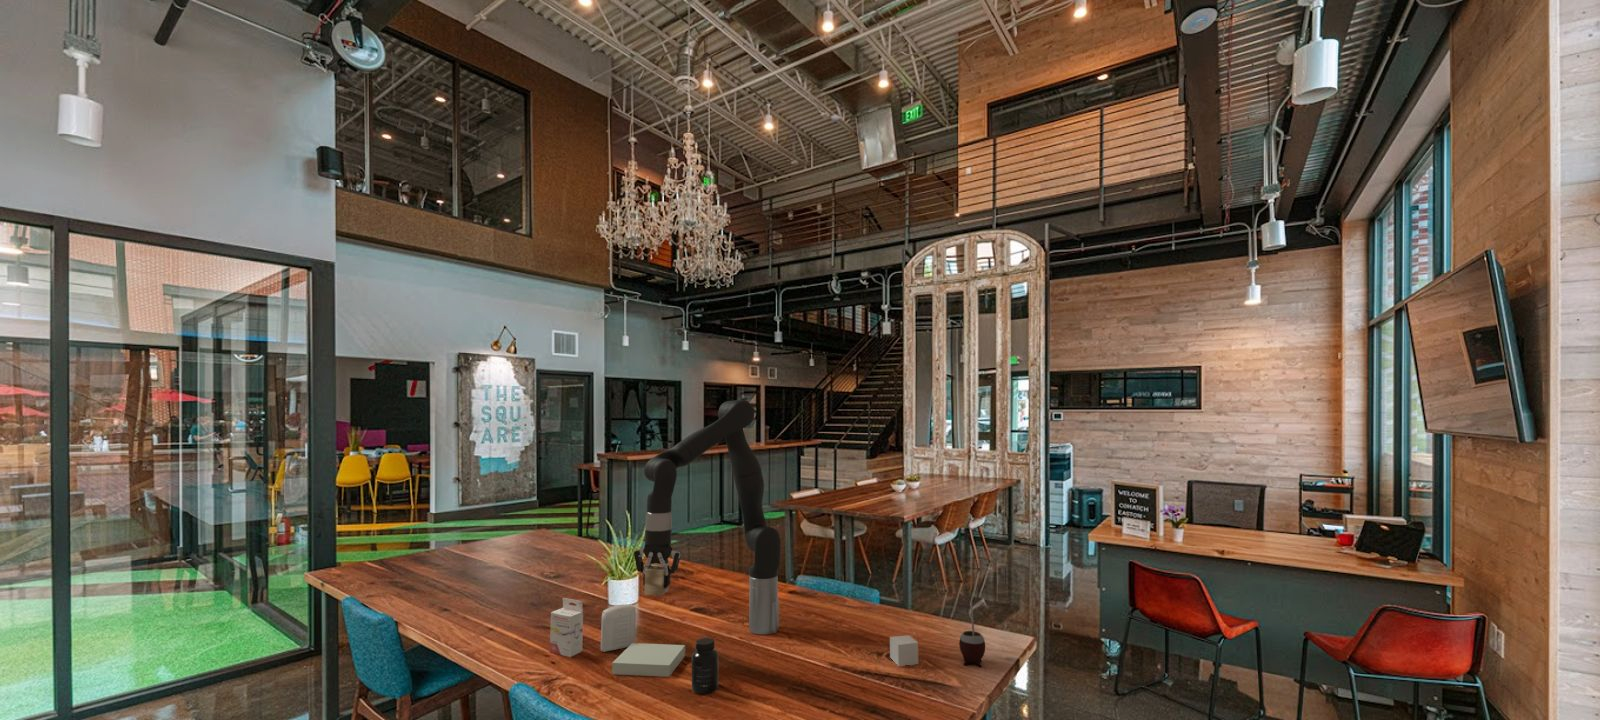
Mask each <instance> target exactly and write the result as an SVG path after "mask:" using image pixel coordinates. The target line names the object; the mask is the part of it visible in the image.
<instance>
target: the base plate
mask: <svg viewBox="0 0 1600 720" xmlns="http://www.w3.org/2000/svg"><path fill="white" fill-rule="evenodd" d="M685 656H686V645H685V644H665V643H663V644H662V643H661V644H660V643H643V642H641V643H638V642H635V643H632V644H631V645H630V646H629V647H626V649H624V651H623V652H621V653H620V655H619V656H618V657H616V659H614V661H612V662H611V663H612V665H611V668H612V670H611V672H612V673H611V674H612V675H619V676H620V675H623V676H642V677H643V676H645V677H663V678H664V677H666V678H670V676H671V675H672V674H673V672H675V670H676V668H677V667H678V666H679V664H680V663H681V662H682V661H683V659H684V658H685Z"/></svg>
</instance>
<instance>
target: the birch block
mask: <svg viewBox="0 0 1600 720" xmlns="http://www.w3.org/2000/svg"><path fill="white" fill-rule="evenodd" d="M664 575H665V574H664V569H663V568H662V567H661V564H653V565H652V566H651V567H649V568H647V569H645V585H644V590H643V591H644V593H643V595H644V596H646V595H647V596H663V595H664V594H665V593H667V592H668V591H669V586H670V585H669V586H668V588H666V589H665V588H664Z"/></svg>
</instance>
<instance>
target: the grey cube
mask: <svg viewBox="0 0 1600 720" xmlns="http://www.w3.org/2000/svg"><path fill="white" fill-rule="evenodd" d="M890 658H891V659H892V660H893V661H894V662H895V663H896V664H897V665H898V666H901V667H906V666H905V665H910V666H916V665H915V664H918V665H919V642H918V641H916V639H914V638H913V636H911V635H909V634H907V635H906V634H905V635H897V636H890V637H889V659H890ZM891 659H890V660H891ZM892 660H891V661H892ZM893 661H892V662H893ZM895 663H894V664H895ZM896 664H895V665H896ZM897 665H896V666H897ZM898 666H897V667H898Z"/></svg>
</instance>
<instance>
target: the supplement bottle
mask: <svg viewBox="0 0 1600 720" xmlns="http://www.w3.org/2000/svg"><path fill="white" fill-rule="evenodd" d="M715 646H716V645H715V639H713V638H710V637H702V638H699V639H697V640H696V641H695V647H694V649H695V651H694V652H693V653H692V655H691V690H692V692H694V693H695V694H697V695H709V694H712V693H714V692H716V691H717V690H718V688H719V653H718V651H717V650H716V649H715Z"/></svg>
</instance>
